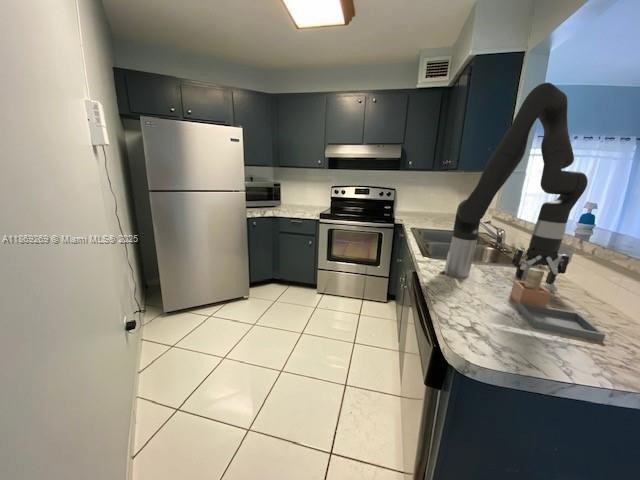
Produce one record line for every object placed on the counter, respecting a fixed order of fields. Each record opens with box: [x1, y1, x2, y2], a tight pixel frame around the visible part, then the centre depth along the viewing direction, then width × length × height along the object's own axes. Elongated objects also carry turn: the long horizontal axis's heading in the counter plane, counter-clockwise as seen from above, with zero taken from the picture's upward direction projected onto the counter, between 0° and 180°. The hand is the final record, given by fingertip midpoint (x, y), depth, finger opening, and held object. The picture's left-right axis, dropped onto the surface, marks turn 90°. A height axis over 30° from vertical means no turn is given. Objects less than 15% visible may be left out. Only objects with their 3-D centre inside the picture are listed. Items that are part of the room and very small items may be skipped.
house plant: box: [513, 242, 539, 279], centre depth 115 cm, size 14×14×16 cm
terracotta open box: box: [509, 279, 551, 307], centre depth 88 cm, size 8×8×7 cm
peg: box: [524, 268, 545, 291], centre depth 88 cm, size 4×4×12 cm
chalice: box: [543, 244, 577, 292], centre depth 100 cm, size 7×7×18 cm
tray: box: [516, 302, 606, 342], centre depth 77 cm, size 16×12×3 cm
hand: (533, 281), depth 87 cm, fingers open, 8 cm apart
